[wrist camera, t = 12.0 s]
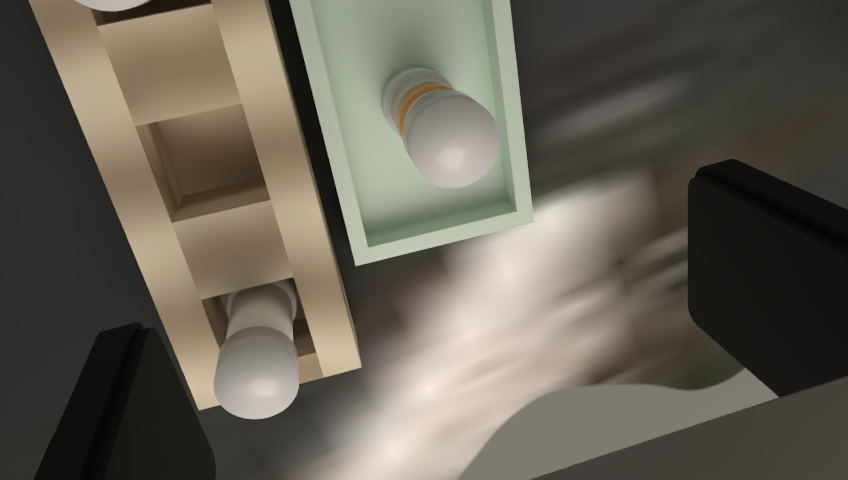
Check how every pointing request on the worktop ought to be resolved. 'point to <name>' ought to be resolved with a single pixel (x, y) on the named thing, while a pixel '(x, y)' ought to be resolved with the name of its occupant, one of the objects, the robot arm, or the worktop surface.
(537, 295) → the worktop surface
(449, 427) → the worktop surface
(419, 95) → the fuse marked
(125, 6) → the fuse
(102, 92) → the fuse block
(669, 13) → the worktop surface
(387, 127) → the tray
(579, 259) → the worktop surface
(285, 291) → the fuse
